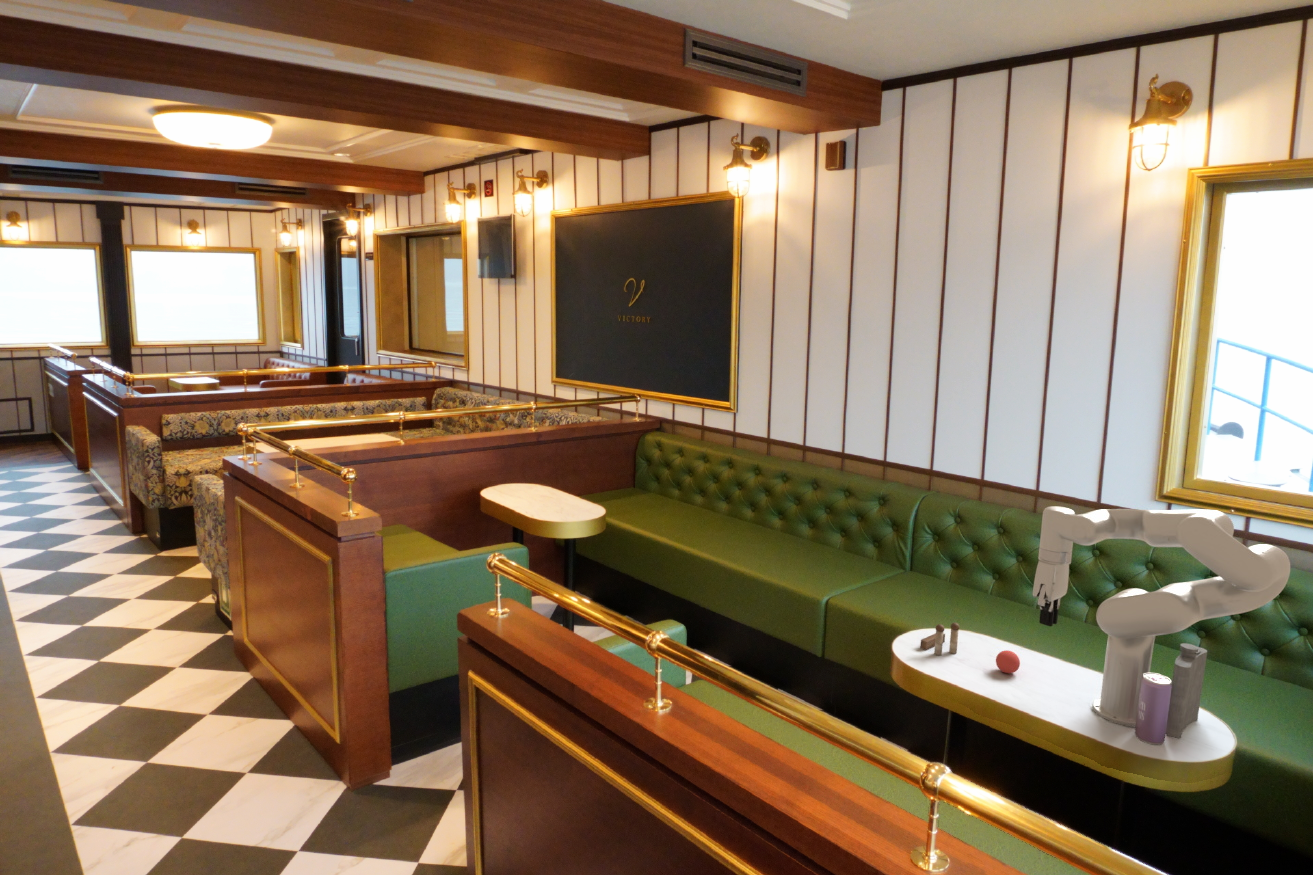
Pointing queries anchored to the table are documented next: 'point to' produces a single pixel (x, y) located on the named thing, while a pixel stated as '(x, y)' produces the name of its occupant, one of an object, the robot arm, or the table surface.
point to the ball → (1007, 661)
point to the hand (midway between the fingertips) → (1048, 623)
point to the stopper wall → (929, 642)
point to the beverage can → (1153, 708)
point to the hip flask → (1186, 689)
